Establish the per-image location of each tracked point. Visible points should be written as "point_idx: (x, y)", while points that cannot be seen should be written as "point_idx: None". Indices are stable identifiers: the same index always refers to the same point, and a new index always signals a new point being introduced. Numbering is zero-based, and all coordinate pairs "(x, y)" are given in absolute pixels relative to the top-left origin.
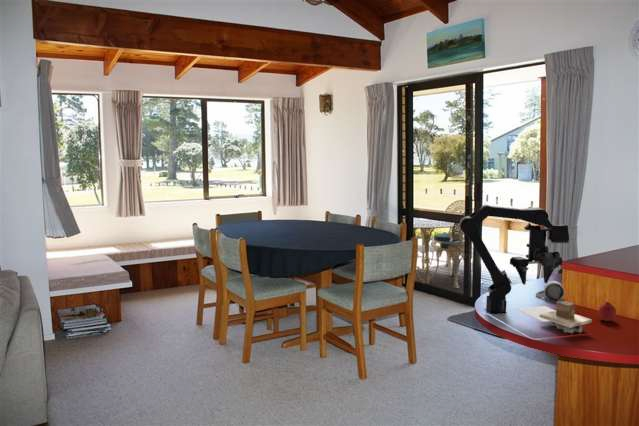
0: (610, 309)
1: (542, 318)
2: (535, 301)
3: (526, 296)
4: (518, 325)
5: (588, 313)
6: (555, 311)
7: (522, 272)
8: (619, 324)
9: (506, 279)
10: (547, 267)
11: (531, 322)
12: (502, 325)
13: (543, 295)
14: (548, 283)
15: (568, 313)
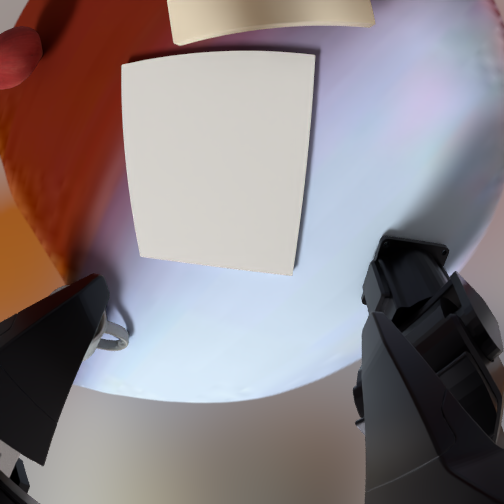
0: (3, 32)
1: (275, 98)
2: (147, 315)
3: (154, 353)
4: (449, 91)
5: (40, 152)
6: (234, 16)
7: (483, 440)
8: None
9: (490, 384)
10: (7, 409)
11: (362, 90)
12: (499, 131)
13: (109, 326)
14: None
15: None
